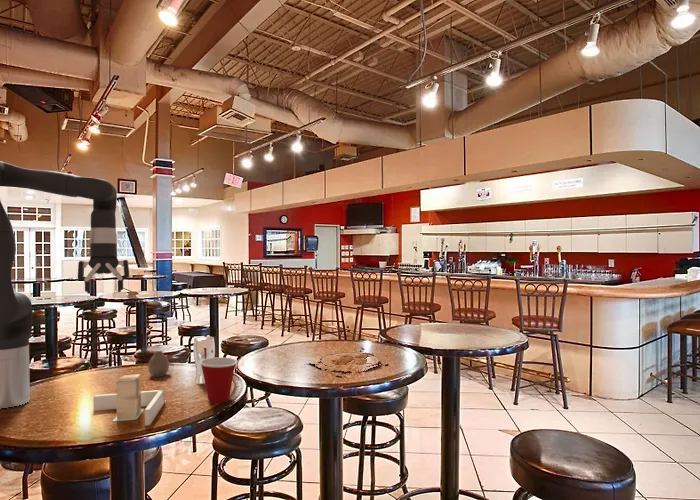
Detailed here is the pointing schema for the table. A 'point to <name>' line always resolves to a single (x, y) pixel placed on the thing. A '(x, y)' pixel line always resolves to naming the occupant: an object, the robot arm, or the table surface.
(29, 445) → the table surface
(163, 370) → the vase
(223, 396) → the plastic cup
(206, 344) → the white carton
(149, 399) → the corner arena
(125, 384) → the maple block
